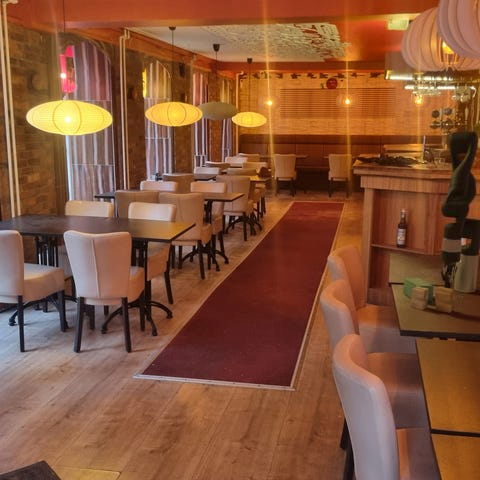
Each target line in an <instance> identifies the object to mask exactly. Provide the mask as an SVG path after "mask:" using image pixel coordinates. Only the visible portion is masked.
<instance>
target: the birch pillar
mask: <svg viewBox="0 0 480 480" xmlns="http://www.w3.org/2000/svg"><path fill="white" fill-rule="evenodd" d="M410 299H411V300H410V309H411V308H412V309H415V308H416V310H420V309H421V310H420V311H423V310H425V309H427V308H428V289H427V288H422V287H415V288H413V289H412V298H410Z"/></svg>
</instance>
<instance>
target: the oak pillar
mask: <svg viewBox="0 0 480 480" xmlns="http://www.w3.org/2000/svg"><path fill="white" fill-rule="evenodd" d="M444 287H445V286H444ZM444 287H443V286H438V288H437V289H436V291H434V296H435V297H434V298H435V302H434V303H435V311H437V312H441V313H446V312H447V313H446V314H451V313H452V312H453V311H454V309H455V293H454V292H455V291H454V288H451V289H449V288H444Z"/></svg>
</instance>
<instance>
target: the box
mask: <svg viewBox="0 0 480 480" xmlns="http://www.w3.org/2000/svg"><path fill="white" fill-rule="evenodd" d="M415 287H422V288H427V289H428V302H429V303H430V302H433V297H434V285H433V284H431V283H428V282H427V281H425V280H424V279H421V278H420V277H404V281H403V291H402V293H403V294H404V295H405V296H407V297H408V298H410V299H411V298H412V289H413V288H415ZM428 302H427V303H428Z"/></svg>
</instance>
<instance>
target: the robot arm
mask: <svg viewBox="0 0 480 480" xmlns="http://www.w3.org/2000/svg"><path fill="white" fill-rule="evenodd" d="M478 142H479V137H478V134H477V132H476V131H474V130H467V131H452V132H451V133H450V134H449V136H448V148H449V154H450V160H451V162H450V163H451V167H452V168H451V170H452V174H451V176H450V179H449V185H448V189H447V190H448V191H447V194H446V196H445V198H444V200H443V202H442V205H441V207H440V212H441V215H442V216H443V217H444V218H454V219H455V222H450V223H449V222H448V223H446V224H445V225H444V226H443V238H442V243H441V251H440V260H441V261H442V262H444V263H443V265H442V266H443V267H442V269H443V270H440V274H441V278H442V282H444V288H449V289H452V283H453V280H454V285H453V289H454V290H455V291H457V292H460V293H468V294H469V293H475V292H476V287H477V277H478V276H477V275H478V267H479V255H480V219H475V218H468V215H469V213H470V212H469V211H470V205H471V204H472V202H473V201H474V199H475V198H476V196H477V180H476V178H475V176H474V175H473V173H472V172H471V170H472V167H473V164H474V161H475V157H476V154H477V150H478V145H479V143H478ZM462 154H465V157H464V159H463V160H462V158H461V155H462ZM462 239H464V240H465V239H466V240H470V243H467V244H463V243H462V242H463V241H462Z"/></svg>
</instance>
